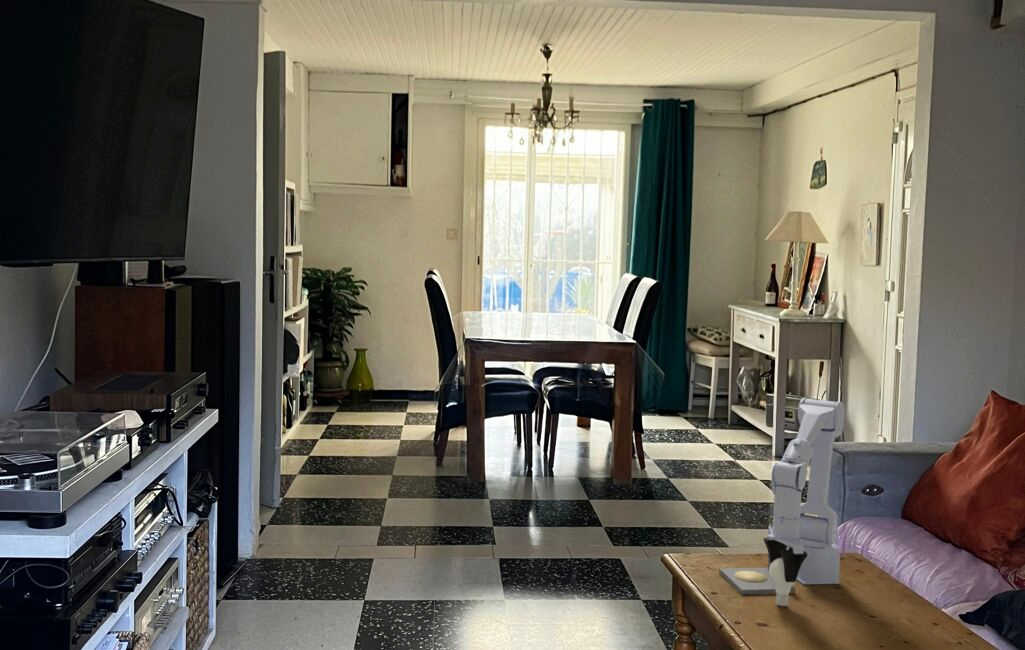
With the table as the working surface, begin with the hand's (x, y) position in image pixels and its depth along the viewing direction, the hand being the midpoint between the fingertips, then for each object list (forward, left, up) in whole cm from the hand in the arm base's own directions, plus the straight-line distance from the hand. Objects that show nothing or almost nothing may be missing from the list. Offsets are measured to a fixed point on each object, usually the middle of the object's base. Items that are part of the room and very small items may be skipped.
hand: (783, 575), depth 219 cm
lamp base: (0, -15, -7) cm, 17 cm away
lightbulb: (0, 0, -7) cm, 7 cm away
